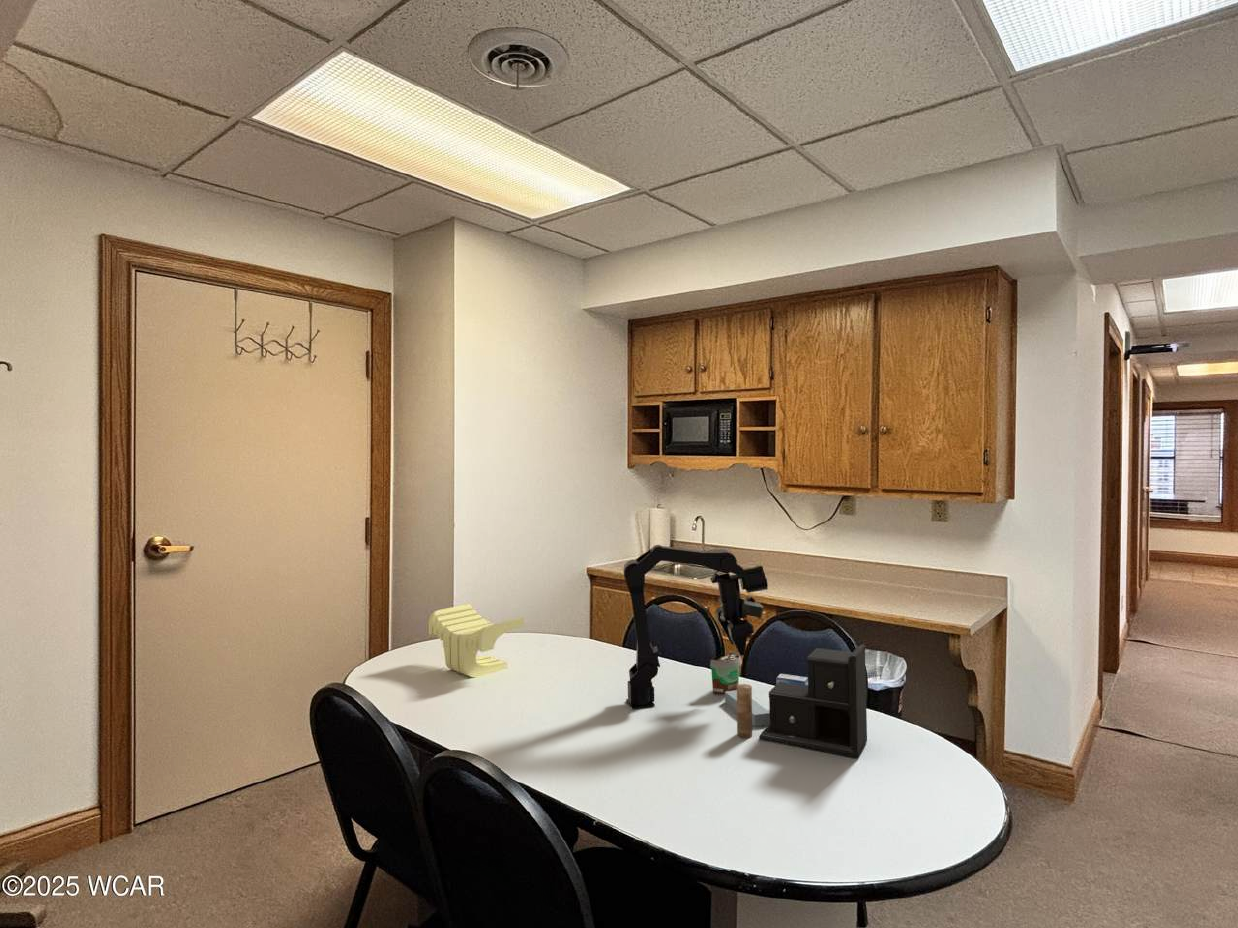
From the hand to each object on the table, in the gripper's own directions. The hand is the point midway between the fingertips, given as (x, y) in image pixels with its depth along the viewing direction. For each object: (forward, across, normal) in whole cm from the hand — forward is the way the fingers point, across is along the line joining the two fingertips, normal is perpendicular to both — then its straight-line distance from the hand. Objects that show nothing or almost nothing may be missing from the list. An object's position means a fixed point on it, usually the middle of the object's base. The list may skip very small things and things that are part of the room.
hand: (738, 649), depth 197 cm
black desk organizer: (+14, -30, -8) cm, 34 cm away
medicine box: (+16, -9, -10) cm, 21 cm away
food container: (+15, +7, +2) cm, 17 cm away
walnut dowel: (+12, -24, +7) cm, 28 cm away
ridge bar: (+14, -10, +2) cm, 17 cm away
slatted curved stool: (+5, +38, +78) cm, 87 cm away
